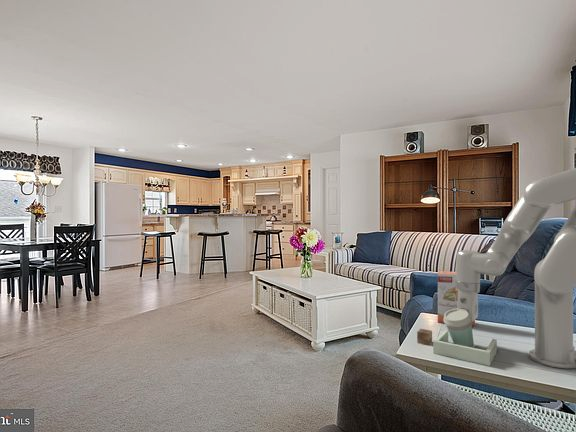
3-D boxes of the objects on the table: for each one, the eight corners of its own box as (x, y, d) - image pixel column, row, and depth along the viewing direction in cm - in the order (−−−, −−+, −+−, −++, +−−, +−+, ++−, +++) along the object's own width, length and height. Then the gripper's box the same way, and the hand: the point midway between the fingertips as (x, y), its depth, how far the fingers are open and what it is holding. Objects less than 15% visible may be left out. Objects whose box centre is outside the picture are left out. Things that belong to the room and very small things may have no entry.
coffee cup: (474, 336, 122) (466, 305, 120) (481, 352, 114) (473, 319, 112) (448, 340, 125) (440, 310, 123) (453, 355, 117) (444, 323, 115)
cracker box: (437, 322, 148) (437, 272, 147) (437, 318, 153) (437, 270, 153) (475, 327, 142) (475, 274, 142) (474, 322, 148) (474, 272, 147)
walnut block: (432, 341, 127) (432, 330, 127) (429, 345, 123) (429, 333, 123) (420, 339, 129) (420, 328, 129) (417, 343, 126) (417, 331, 126)
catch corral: (496, 351, 117) (496, 339, 117) (489, 365, 106) (489, 352, 106) (444, 340, 127) (444, 329, 127) (433, 353, 116) (433, 340, 116)
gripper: (474, 292, 115) (472, 348, 116) (484, 284, 127) (482, 335, 127) (449, 288, 120) (448, 342, 120) (461, 281, 131) (459, 330, 132)
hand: (465, 338), depth 124 cm, fingers closed
